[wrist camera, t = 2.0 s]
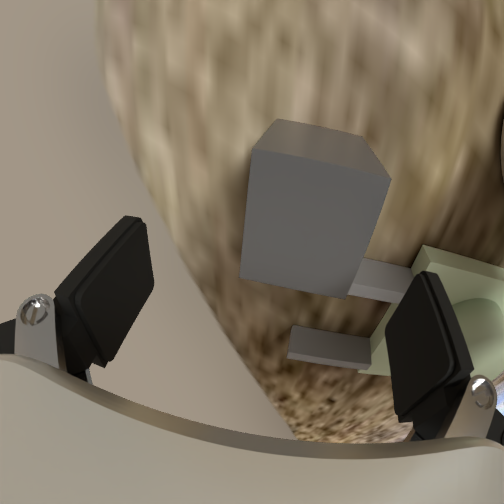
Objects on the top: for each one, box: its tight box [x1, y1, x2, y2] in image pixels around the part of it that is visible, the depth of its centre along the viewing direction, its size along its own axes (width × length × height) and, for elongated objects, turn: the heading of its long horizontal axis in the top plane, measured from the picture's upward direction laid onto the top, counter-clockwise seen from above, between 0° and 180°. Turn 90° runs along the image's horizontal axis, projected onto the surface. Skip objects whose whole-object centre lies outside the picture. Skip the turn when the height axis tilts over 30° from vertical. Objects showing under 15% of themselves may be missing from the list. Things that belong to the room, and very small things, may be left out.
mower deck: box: [287, 245, 504, 381], centre depth 19 cm, size 22×14×6 cm, turn 84°
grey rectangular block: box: [239, 119, 391, 299], centre depth 14 cm, size 5×6×7 cm
